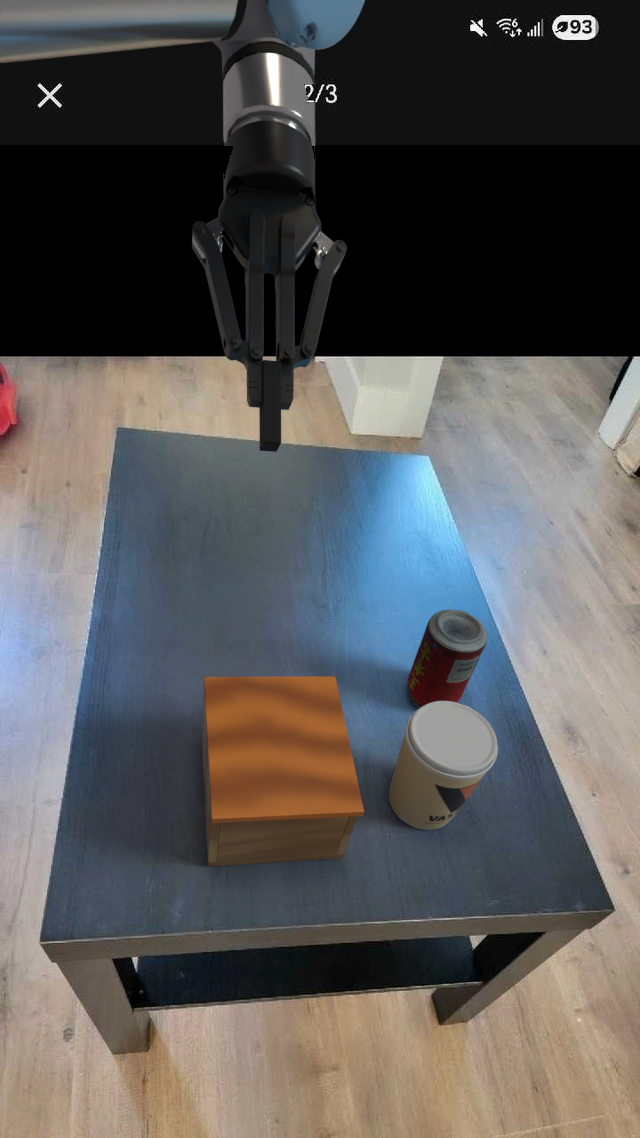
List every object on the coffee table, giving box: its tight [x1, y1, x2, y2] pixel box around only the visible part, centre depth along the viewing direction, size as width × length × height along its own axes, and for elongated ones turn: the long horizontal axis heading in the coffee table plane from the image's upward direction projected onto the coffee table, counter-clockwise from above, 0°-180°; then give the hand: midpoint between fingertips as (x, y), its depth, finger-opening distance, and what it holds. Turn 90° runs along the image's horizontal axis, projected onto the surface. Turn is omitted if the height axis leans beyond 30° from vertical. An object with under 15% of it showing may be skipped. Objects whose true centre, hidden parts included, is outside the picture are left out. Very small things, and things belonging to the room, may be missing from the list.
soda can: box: [407, 609, 488, 709], centre depth 82 cm, size 7×7×12 cm
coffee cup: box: [388, 701, 499, 831], centre depth 72 cm, size 9×9×12 cm
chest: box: [201, 690, 358, 867], centre depth 70 cm, size 16×14×10 cm
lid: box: [203, 675, 365, 823], centre depth 66 cm, size 16×14×1 cm
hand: (270, 446), depth 58 cm, fingers closed
